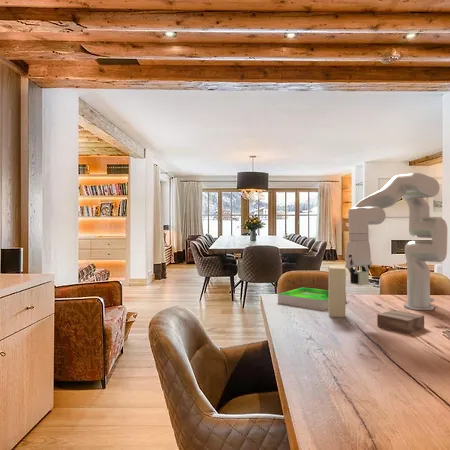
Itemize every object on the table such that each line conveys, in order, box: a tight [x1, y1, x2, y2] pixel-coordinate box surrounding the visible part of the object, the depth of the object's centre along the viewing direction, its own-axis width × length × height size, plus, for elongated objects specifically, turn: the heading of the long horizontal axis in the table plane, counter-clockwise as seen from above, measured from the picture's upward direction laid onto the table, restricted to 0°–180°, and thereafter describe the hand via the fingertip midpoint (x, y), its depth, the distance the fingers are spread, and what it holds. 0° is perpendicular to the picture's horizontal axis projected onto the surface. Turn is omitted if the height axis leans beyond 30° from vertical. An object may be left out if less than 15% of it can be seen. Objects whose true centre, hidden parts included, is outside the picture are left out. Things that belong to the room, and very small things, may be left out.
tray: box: [277, 286, 347, 311], centre depth 188 cm, size 25×25×5 cm
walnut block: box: [376, 309, 425, 335], centre depth 142 cm, size 12×12×5 cm
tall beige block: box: [327, 265, 347, 318], centre depth 161 cm, size 8×7×21 cm
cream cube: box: [349, 270, 370, 287], centre depth 149 cm, size 5×5×5 cm
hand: (359, 282), depth 149 cm, fingers closed on cream cube, 4 cm apart
